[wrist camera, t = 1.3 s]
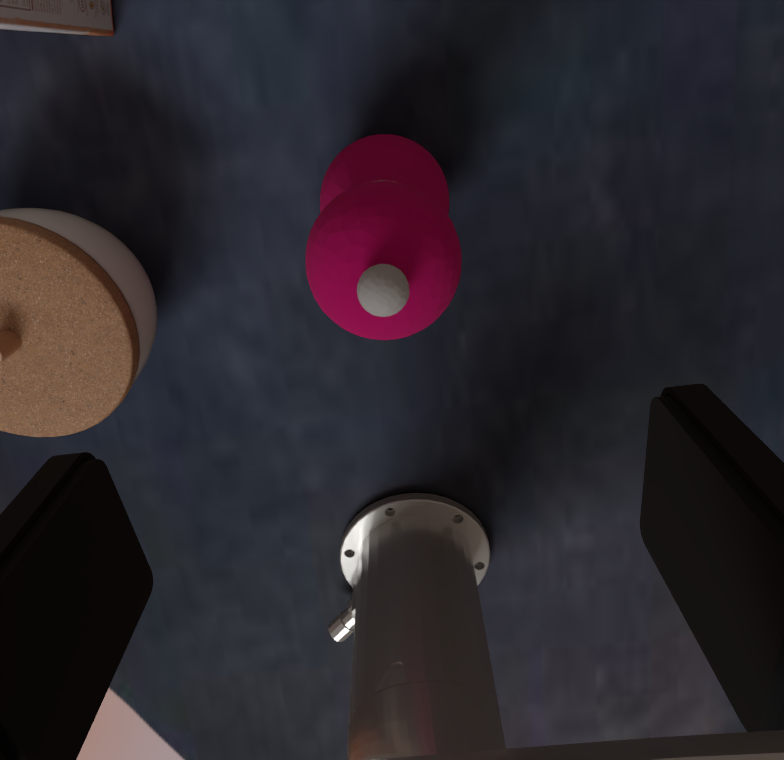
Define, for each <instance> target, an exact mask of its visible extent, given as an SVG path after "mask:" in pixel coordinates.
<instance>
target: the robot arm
mask: <svg viewBox="0 0 784 760" xmlns="http://www.w3.org/2000/svg"><path fill="white" fill-rule="evenodd" d="M640 530H641V535H642V538H643V541H644V544H645V546H646V548H647V550H648V551H649V553H650V555H651V557H652V559H653V561H654V562H655V564H656V566H657V568H658V570H659V572H660V574H661V575H662V577H663V579H664V581H665V583H666V585H667V586H668V588H669V590H670V592H671V594H672V596H673V598H674V599H675V601H676V603H677V605H678V607H679V609H680V610H681V612H682V614H683V616H684V618H685V620H686V621H687V623H688V625H689V627H690V629H691V631H692V633H693V634H694V636H695V638H696V640H697V642H698V644H699V645H700V647H701V649H702V651H703V653H704V655H705V657H706V658H707V660H708V662H709V664H710V666H711V668H712V669H713V671H714V673H715V675H716V677H717V679H718V681H719V682H720V684H721V686H722V688H723V690H724V692H725V693H726V695H727V697H728V699H729V701H730V703H731V704H732V706H733V708H734V710H735V712H736V714H737V716H738V717H739V719H740V721H741V723H742V724H743V726H744V728H745V729H746V730H747V731H748V732H742V733H725V734H708V735H691V736H674V737H657V738H642V739H629V740H616V741H603V742H590V743H577V744H563V745H550V746H537V747H524V748H511V749H506V745H505V739H504V734H503V728H502V722H501V717H500V711H499V706H498V700H497V694H496V688H495V683H494V677H493V671H492V666H491V660H490V654H489V649H488V643H487V637H486V632H485V626H484V620H483V615H482V609H481V603H480V598H479V592H478V585H479V584H480V582H481V581H482V579H483V577H484V576H485V574H486V572H487V569H488V566H489V562H490V548H489V542H488V538H487V534H486V531H485V529H484V527H483V526H482V524H481V522H480V520H479V519H478V518H477V517H476V516H475V515H474V514H473V513H472V512H471V511H470V510H468V509H467V508H466V507H464V506H463V505H461V504H460V503H457V502H455V501H453V500H451V499H449V498H446V497H442V496H438V495H434V494H425V493H406V494H400V495H395V496H390V497H387V498H384V499H382V500H379V501H377V502H375V503H373V504H371V505H370V506H368V507H366V508H364V509H363V510H362V511H361V512H360V513H359V514H357V515H356V516H355V517H354V518H353V520H352V521H351V522H350V524H349V525H348V526H347V528H346V530H345V533H344V535H343V537H342V542H341V547H340V563H341V569H342V572H343V574H344V576H345V578H346V580H347V582H348V583H349V584H350V586H351V587H352V588H353V596H352V597H351V598H350V599H349V601H348V604H347V606H348V607H347V608H346V609H345V610H344V611H342V612H341V613H340V614H339V615H338V616H337V617H336V618H335V619H334V620H333V621H332V622H331V623H330V624H329V627H328V630H329V633H330V635H331V636H332V638H333V639H335V640H336V641H338V642H343V641H344V640H346V639H347V638H348V637H349V636H350V635H351V634H352V633H353V632H354V641H353V658H352V675H351V692H350V709H349V725H348V742H347V758H348V760H784V463H783V462H782V461H781V460H780V459H779V458H778V457H777V456H776V455H775V454H774V453H773V452H772V451H771V450H770V449H769V448H768V447H767V446H766V445H765V444H764V443H763V442H762V441H761V440H760V439H759V438H758V437H757V436H756V435H755V434H754V433H753V432H752V431H751V430H750V429H749V428H748V427H747V426H746V425H745V424H744V423H743V422H742V421H741V420H740V419H739V418H738V417H737V416H736V415H735V414H734V413H733V412H732V411H731V410H730V409H729V408H728V407H727V406H726V405H725V404H724V403H723V402H722V401H721V400H720V399H719V398H718V397H717V396H716V395H715V394H714V393H713V392H712V391H711V390H710V389H709V388H708V387H707V386H705V385H704V384H693V385H684V386H675V387H666V388H665V389H664V390H663V391H662V394H661V397H655V398H653V399H652V402H651V406H650V416H649V427H648V438H647V449H646V461H645V472H644V483H643V494H642V505H641V516H640ZM152 587H153V575H152V571H151V569H150V566H149V564H148V562H147V559H146V557H145V555H144V552H143V550H142V548H141V545H140V543H139V541H138V538H137V536H136V534H135V531H134V529H133V527H132V524H131V522H130V520H129V517H128V515H127V513H126V510H125V508H124V506H123V503H122V501H121V499H120V496H119V494H118V492H117V489H116V487H115V485H114V482H113V480H112V478H111V475H110V473H109V471H108V468H107V466H106V465H105V463H104V462H103V461H102V460H99V459H96V458H95V457H94V456H93V455H92V454H91V453H87V452H84V453H75V454H66V455H57V456H53V457H51V458H50V459H48V460H47V462H46V463H45V464H44V465H43V466H42V467H41V468H40V470H39V471H38V472H37V473H36V474H35V475H34V476H33V478H32V479H31V480H30V481H29V482H28V483H27V485H26V486H25V487H24V488H23V489H22V490H21V491H20V493H19V494H18V495H17V496H16V497H15V498H14V500H13V501H12V502H11V503H10V504H9V505H8V506H7V508H6V509H5V510H4V511H3V512H2V513H1V515H0V760H76V758H77V757H78V754H79V752H80V750H81V748H82V745H83V743H84V741H85V739H86V737H87V734H88V732H89V730H90V728H91V725H92V723H93V721H94V719H95V717H96V714H97V712H98V710H99V707H100V705H101V703H102V701H103V699H104V697H105V694H106V692H107V690H108V688H109V685H110V683H111V681H112V679H113V677H114V674H115V672H116V670H117V668H118V665H119V663H120V661H121V659H122V657H123V654H124V652H125V650H126V648H127V645H128V643H129V641H130V639H131V637H132V634H133V632H134V630H135V628H136V625H137V623H138V621H139V619H140V617H141V614H142V612H143V610H144V608H145V605H146V603H147V601H148V599H149V597H150V594H151V591H152Z"/></svg>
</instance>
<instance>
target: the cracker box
mask: <svg viewBox="0 0 784 760" xmlns="http://www.w3.org/2000/svg"><path fill="white" fill-rule="evenodd" d="M0 29H7V30H20V31H36V32H52V33H65V34H80V35H97V36H114V27H113V17H112V5H111V0H0Z"/></svg>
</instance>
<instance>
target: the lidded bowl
mask: <svg viewBox="0 0 784 760" xmlns="http://www.w3.org/2000/svg"><path fill="white" fill-rule="evenodd" d="M156 329H157V305H156V300H155V295H154V290H153V288H152V285H151V282H150V279H149V277H148V275H147V274H146V272H145V270H144V268H143V266H142V265H141V263H140V262H139V261H138V259H137V258H136V256H135V255H134V254H133V253H132V252H131V251H130V250H129V249H128V247H127V246H126V245H125V244H124V243H123V242H121V241H120V240H119V239H118V238H117V237H115V236H114V235H113V234H112V233H110V232H109V231H107V230H105V229H104V228H102V227H101V226H99V225H97V224H95V223H93V222H91V221H89V220H86V219H84V218H82V217H79V216H76V215H73V214H70V213H66V212H63V211H58V210H51V209H44V208H14V209H5V210H0V430H1V431H5V432H9V433H13V434H18V435H25V436H32V437H56V436H63V435H70V434H73V433H77V432H80V431H83V430H86V429H88V428H90V427H92V426H94V425H96V424H98V423H100V422H101V421H102V420H104V419H105V418H106V417H108V416H109V415H110V414H111V413H112V412H113V411H114V410H115V409H116V408H117V406H118V405H119V404H120V403H121V402H122V401H123V399H124V398H125V396H126V395H127V393H128V391H129V390H130V388H131V386H132V385H133V383H134V381H135V380H136V379H137V377H138V376H139V374H140V372H141V371H142V369H143V367H144V365H145V364H146V361H147V359H148V357H149V355H150V352H151V349H152V347H153V344H154V340H155V336H156Z"/></svg>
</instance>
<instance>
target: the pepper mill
mask: <svg viewBox="0 0 784 760" xmlns="http://www.w3.org/2000/svg"><path fill="white" fill-rule="evenodd" d="M320 211H321V213H320V215H319V216H318V218H317V219H316V221H315V223H314V225H313V227H312V229H311V231H310V235H309V238H308V242H307V247H306V272H307V278H308V281H309V285H310V288H311V291H312V293H313V295H314V298H315V300H316V301H317V303H318V304H319V306H320V307H321V309H322V310H323V312H324V313H325V314H326V315H327V316H329V317H330V318H331V319H332V320H333V321H334V322H335V323H336V324H338V325H339V326H340V327H342V328H343V329H345V330H347V331H349V332H351V333H353V334H355V335H358V336H361V337H365V338H369V339H377V340H393V339H399V338H404V337H408V336H410V335H412V334H415V333H417V332H419V331H421V330H423V329H424V328H426V327H428V326H429V325H430V324H432V323H433V322H434V321H435V320H436V319H437V318H438V317H439V316H440V315H441V314H442V313H443V312H444V310H445V309H446V308H447V307H448V305H449V304H450V302H451V300H452V298H453V296H454V294H455V292H456V289H457V286H458V283H459V280H460V275H461V248H460V243H459V238H458V236H457V233H456V230H455V228H454V225H453V222H452V221H451V219H450V218H449V217H448V213H449V190H448V186H447V182H446V178H445V176H444V174H443V171H442V169H441V167H440V166H439V164H438V163H437V161H436V160H435V158H434V157H433V156H432V155H431V154H430V153H429V152H428V151H427V150H426V149H424V148H423V147H422V146H421V145H419V144H417V143H416V142H414V141H412V140H410V139H407V138H405V137H402V136H397V135H392V134H378V135H371V136H367V137H364V138H361V139H359V140H357V141H355V142H353V143H352V144H350V145H348V146H347V147H346V148H345V149H343V150H342V151H341V152H340V153H339V154H338V155H337V156H336V158H335V159H334V160H333V162H332V163H331V164H330V166H329V168H328V170H327V172H326V174H325V176H324V179H323V183H322V187H321V195H320Z"/></svg>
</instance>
